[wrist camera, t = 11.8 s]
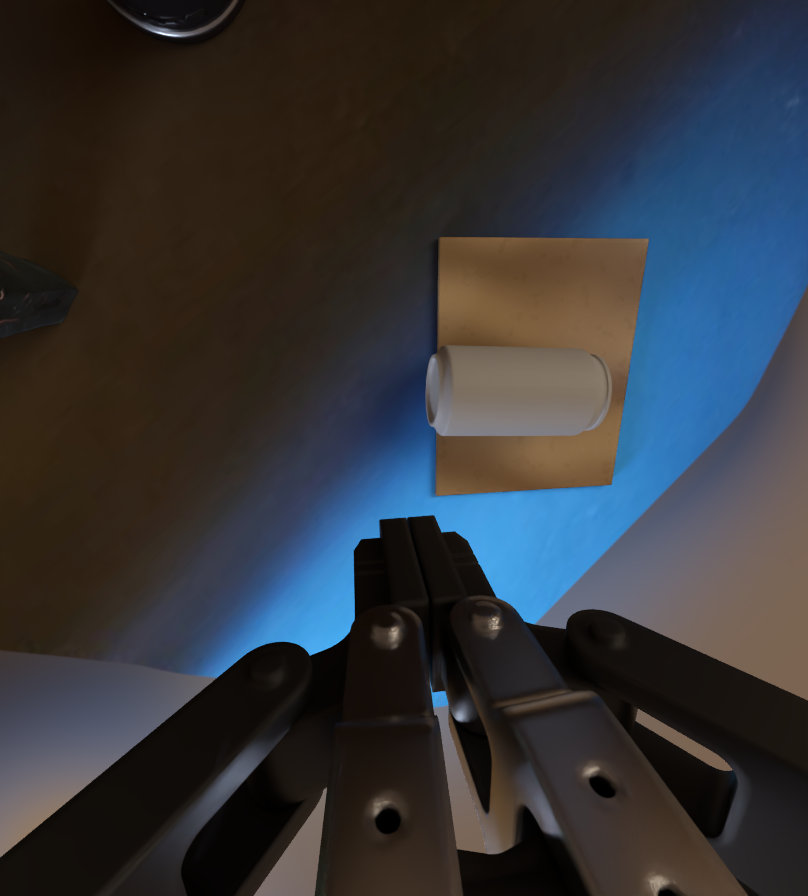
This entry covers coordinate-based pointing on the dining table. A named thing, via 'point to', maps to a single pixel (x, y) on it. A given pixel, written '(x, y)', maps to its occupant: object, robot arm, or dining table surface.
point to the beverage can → (516, 391)
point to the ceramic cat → (31, 296)
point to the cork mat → (538, 325)
